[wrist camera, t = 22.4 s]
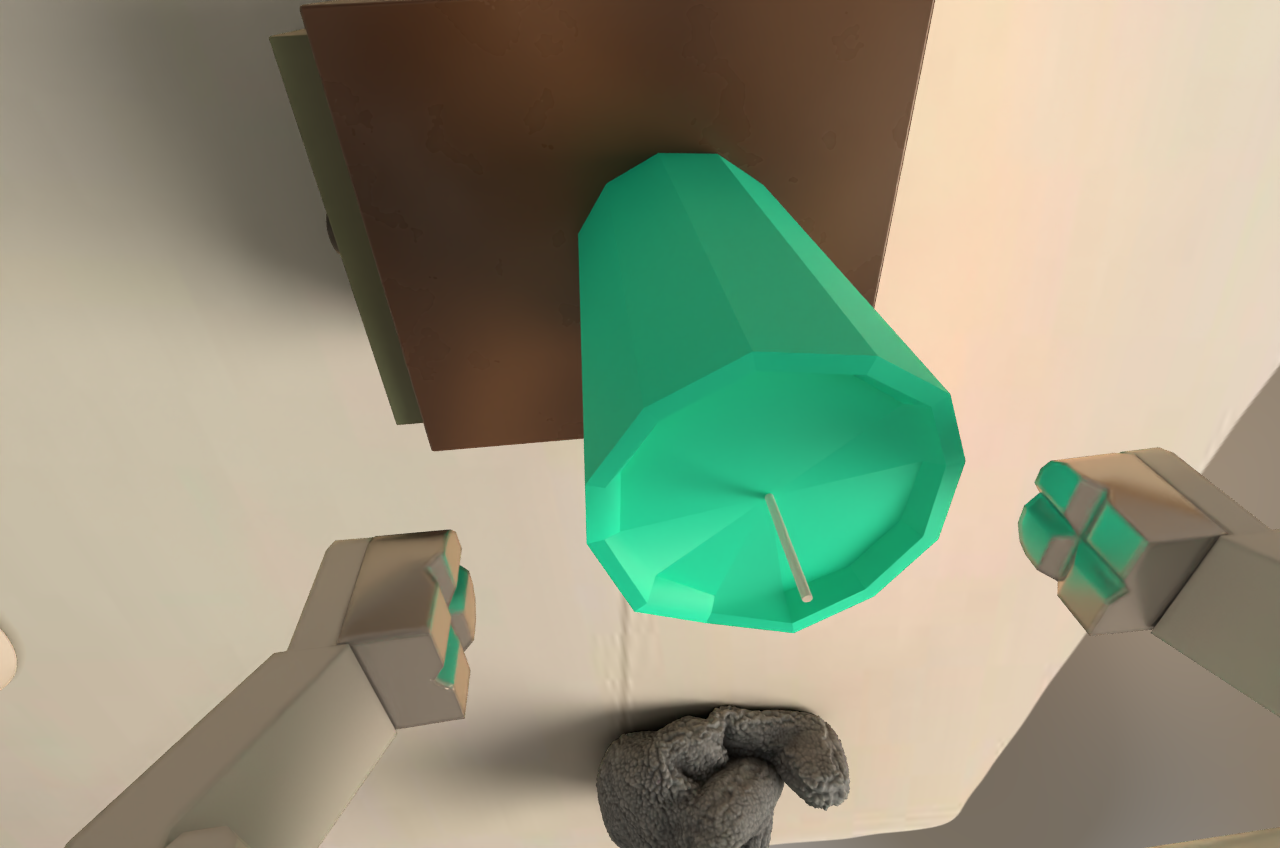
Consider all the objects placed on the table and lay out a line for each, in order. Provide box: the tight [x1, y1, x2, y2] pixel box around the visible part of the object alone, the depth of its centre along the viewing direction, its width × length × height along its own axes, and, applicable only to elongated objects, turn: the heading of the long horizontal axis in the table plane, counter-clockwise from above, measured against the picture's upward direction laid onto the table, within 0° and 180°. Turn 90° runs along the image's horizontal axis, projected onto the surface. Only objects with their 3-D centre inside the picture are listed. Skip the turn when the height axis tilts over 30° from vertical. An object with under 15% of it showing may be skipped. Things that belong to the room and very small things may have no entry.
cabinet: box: [300, 0, 935, 451], centre depth 21 cm, size 15×13×9 cm
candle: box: [578, 153, 965, 633], centre depth 13 cm, size 6×6×12 cm
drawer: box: [269, 28, 423, 425], centre depth 21 cm, size 15×11×7 cm
